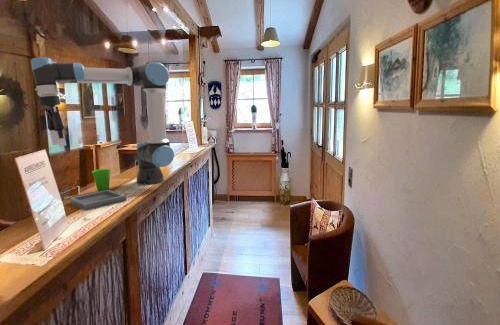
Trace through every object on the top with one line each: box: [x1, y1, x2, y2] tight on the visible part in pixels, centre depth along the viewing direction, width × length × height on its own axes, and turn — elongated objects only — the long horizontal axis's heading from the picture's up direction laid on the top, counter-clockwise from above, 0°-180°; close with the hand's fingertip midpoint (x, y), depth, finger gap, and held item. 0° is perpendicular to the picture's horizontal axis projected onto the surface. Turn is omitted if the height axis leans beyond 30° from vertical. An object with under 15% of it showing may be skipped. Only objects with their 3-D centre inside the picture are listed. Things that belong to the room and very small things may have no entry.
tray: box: [69, 189, 127, 212], centre depth 147 cm, size 18×18×2 cm
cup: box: [91, 168, 111, 192], centre depth 166 cm, size 9×9×11 cm
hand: (59, 145), depth 141 cm, fingers open, 13 cm apart
